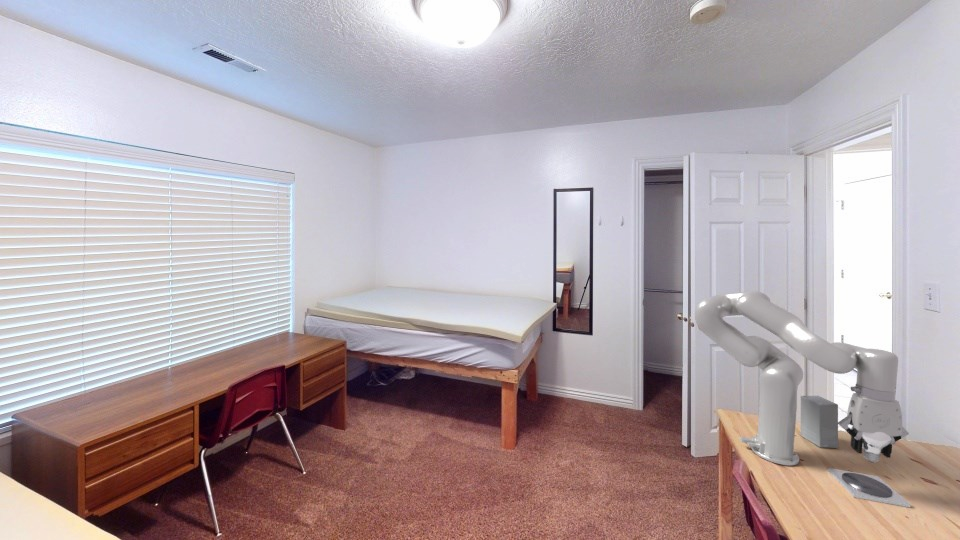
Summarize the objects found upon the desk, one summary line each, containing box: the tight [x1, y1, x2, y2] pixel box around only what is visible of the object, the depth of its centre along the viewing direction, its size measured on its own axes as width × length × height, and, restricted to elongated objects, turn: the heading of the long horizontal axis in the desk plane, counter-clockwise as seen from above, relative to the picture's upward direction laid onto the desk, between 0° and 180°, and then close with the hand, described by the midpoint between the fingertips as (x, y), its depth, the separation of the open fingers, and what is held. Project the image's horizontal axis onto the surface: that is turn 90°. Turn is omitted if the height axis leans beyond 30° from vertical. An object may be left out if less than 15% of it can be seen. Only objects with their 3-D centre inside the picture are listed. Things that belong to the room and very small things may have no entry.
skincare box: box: [800, 395, 839, 449], centre depth 126 cm, size 8×7×16 cm
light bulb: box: [856, 430, 891, 464], centre depth 102 cm, size 7×7×12 cm
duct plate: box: [827, 467, 912, 508], centre depth 103 cm, size 12×12×1 cm
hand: (870, 452), depth 102 cm, fingers closed on light bulb, 5 cm apart
